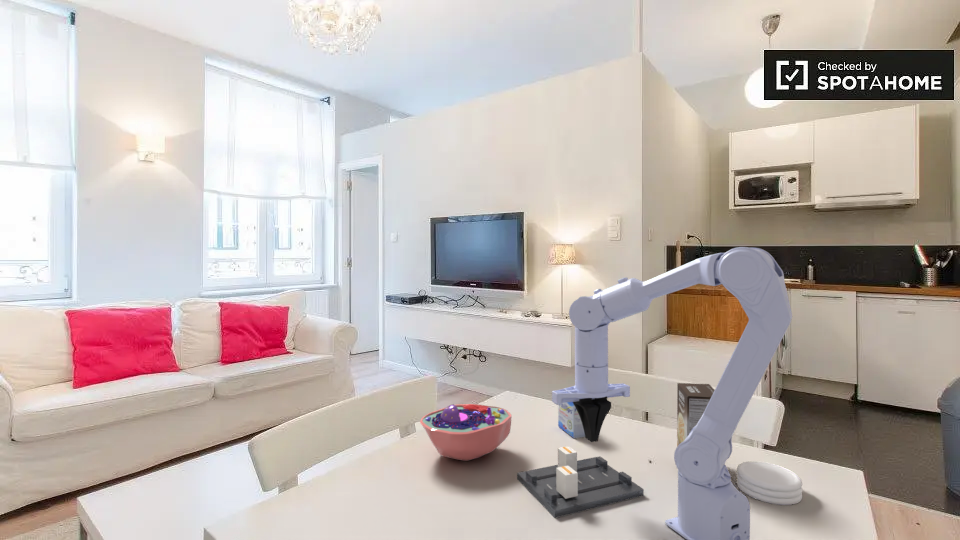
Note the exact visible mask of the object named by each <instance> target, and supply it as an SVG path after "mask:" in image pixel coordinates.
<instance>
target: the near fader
mask: <svg viewBox="0 0 960 540" xmlns="http://www.w3.org/2000/svg"><path fill="white" fill-rule="evenodd" d="M556 490H557V491H558V492H559V493H560V494H561V495H562V496H563V497H564V498H565V499H567V498H571V497H575V496H578V473H577V472H576V471H575V470H573V469H572V468H571V467H569V466H563V467H558V468H556Z"/></svg>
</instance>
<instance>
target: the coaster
mask: <svg viewBox="0 0 960 540" xmlns="http://www.w3.org/2000/svg"><path fill="white" fill-rule="evenodd" d="M736 478H737V479H736V485H737V487H738V489H739V490H740V491H741V492H742V493H744V495H745V494H746V495H747V496H749V497H750V498H754V499H755V500H757V501H761V502H764V503H768V504H771V505H772V504H773V505H778V506H780V505H781V506H792V504H793V505H796V504H798V503H800V502H801V501H802V499H803V480H802V478H801V477H800V476H799V475H798V474H797V473H796V472H794V471H792V470H791V469H788V468H786V467H784V466H781V465H778V464H776V463H775V464H774V463H772V462H767V461H760V460H757V461H756V460H751V461H743V462H742V463H739V464H737V466H736Z"/></svg>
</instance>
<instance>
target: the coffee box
mask: <svg viewBox="0 0 960 540" xmlns="http://www.w3.org/2000/svg"><path fill="white" fill-rule="evenodd" d="M676 389H677V390H676V391H677V399H676V400H677V401H676V402H677V403H676V404H677V405H676V406H677V408H676V409H677V412H676V414H677V417H676V419H677V420H676V421H677V422H676V424H677V425H676V426H677V427H676V429H677V430H676V434H677V435H676V439H677V440H676V447H677V446H678V445H679V444H680V443H682V442H683V441H684V440H685V439H686V438H687V436H688V435H689V433H690V432H691V430H692V429H693V428H694V427H695V426H696V425H697V423H698V421H699V420H700V418H701V416H702V415H703V413H704V411H705V409H706V407H707V405H708V403H709V401H710V399H711V397H712V395H713V393H714V391H715V389H714V388H713V387H712V385H711V384H709V383H689V382H688V383H687V382H685V383H684V382H681V383H680V382H678V383H677V388H676Z"/></svg>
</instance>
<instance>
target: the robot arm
mask: <svg viewBox="0 0 960 540" xmlns="http://www.w3.org/2000/svg"><path fill="white" fill-rule="evenodd" d="M617 282H618V283H616V284H613V285H612V286H609V287H607V288H604V289H603V290H602V288H598V289H595V290H593V293H594V294H593V295H590V296H587V295H585V296H581V295H580V296H579V297H578V298H577V299H575V300H574V301H573V302H572V303H571V305H570V307H569V311H568V316H569V320H570V322H571V324H572V325H573V326H574V385H572V386H569V387H564V388H561V389H556V390H552V391H551V402H552V403H553V404H555V405H556V406H559V405H561V404H562V403H566V402H573V404H574V406H575V407H576V409H577V412H578V414H579V416H580V419H581V422H582V425H583V429H584V433H585V437H584V438H585V439H586V440H587V441H589V443H594V442H595V443H596V442H598V441H599V437H600V434H601V430H602V426H603V424H604V422H605V419H606V417H607V415H608V414H609V411H611V409H612V402H611V401H609V400H608V399H609V398H616V397H617V398H618V397H624V398H629V397H630V396H631V386H630V385H628V384H627V383H626V384H625V383H609V325H610V324H611V323H614V322H618V321H620V320H623V319H626V318H629V317H631V316H634V315H638V314H640V313H644V312H646V311H647V310H648V309H649V308H650V305H651V303H652V301H653V300H654V299H657V298H660V297H663V296H667V295H669V294H673V293H675V292H678V291H681V290H683V289H686V288H691V287H693V286H695V285H699V284H700V285H705V286H711V287H712V286H713V287H716V286H719V285H722V287H724V288H725V289H726V290H727V291H728V292H729V293H730V294H732V295H733V296H734V297H735V298H736V299H737V300H738V302H739V304H740V305H741V308H742V310H743V311H744V312H745V314H746V316H747V318H748V322H747V324H746V325H745V328H744V330H743V332H742V334H741V336H740V338H739V340H738V342H737V344H736V346H735V349H734V351H733V352H732V354H731V357H730V358H729V361H728V362H727V365H726V366H725V368H724V370H723V373H722V374H721V376H720V378H719V381H718V383H717V385H716V387H715V389H714V390H715V391H714V393H713V395H712V397H711V399H710V401H709V403H708V405H707V407H706V409H705V411H704V413H703V415H702V416H701V418H700V420H699V421H698V423H697V425H696V426H695V427H694V428H693V429H692V430H691V432H690V433H689V435H688V436H687V438H686V439H685V440H684V441H683V442H682V443H680V444H679V445H678V446H677V445H676V448H675V450H674V452H673V453H674V454H673V458H674V463H675V467H676V469H677V516H676V517H675V516H674V517H672V518H667V519H665V521H664V524H665V525H666V526H667V527H669V528H670V529H671V530H673V531H675V532H676V533H677V534H679V535H680V536H681V537H683V538H684V539H685V540H750V539H751V529H750V528H751V507H750V502H749V500H748V498H747V496H746V495H745V494H743V492H742V491H739V490H738V488H736V487H735V485H734V484H733V482H732V480H731V477H732V476H731V473H730V471H729V470H728V467H727V465H726V462H727V460H728V459H730V456H731V455H732V452H733V442H732V440H733V436H734V433H735V431H736V429H737V427H738V425H739V422H740V420H741V418H742V417H743V415H744V413H745V411H746V410H747V408H748V406H749V403H750V402H751V400H752V398H753V396H754V394H755V392H756V390H757V388H758V386H759V385H760V382H761V381H762V378H763V377H764V375H765V373H766V371H767V369H768V367H769V365H770V364H771V361H772V360H773V357H774V356H775V354H776V352H777V350H778V347H779V346H780V344H781V342H782V340H783V338H784V336H785V334H786V332H787V331H788V329H789V327H790V325H791V323H792V319H793V312H792V308H791V304H790V300H789V299H790V298H789V295H788V291H787V285H786V284H785V275H784V271H783V269H782V268H781V266H780V265H779V264H778V262H777V261H776V260H775V258H774V256H772V255H771V254H770V252H768V251H766V250H764V249H762V248H760V247H747V246H739V247H738V246H737V247H733V248H731V249H729V250H727V251H726V252H718V253H714V254H709V255H705V256H703V257H699V258H696V259H694V260H692V261H689V262H687V263H685V264H682V265H680V266H677V267H675V268H673V269H670V270H668V271H666V272H663V273H661V274H659V275H657V276H655V277H652V278H650V279H648V280H644V281H643V280H640V279H638V278H636V277H631V278H629V277H627V276H626V277H622V278H619V279H618V280H617Z"/></svg>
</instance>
